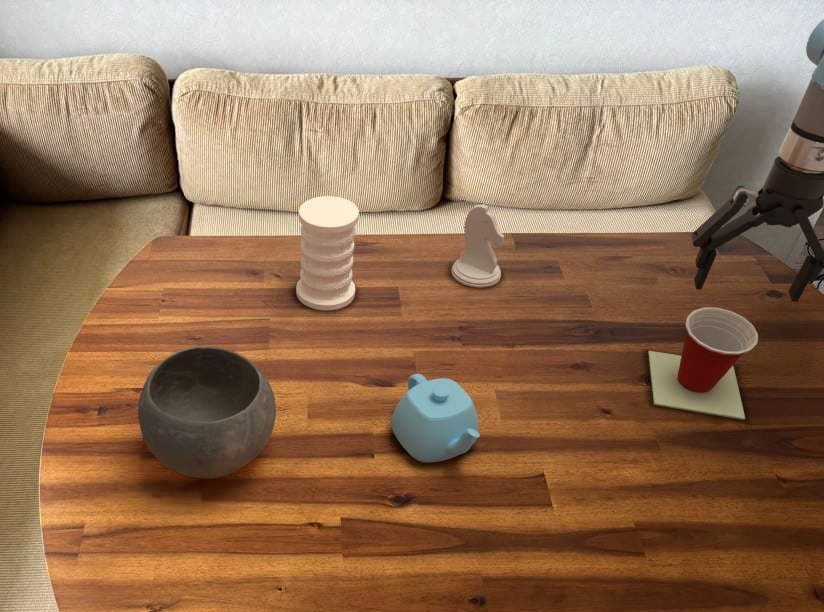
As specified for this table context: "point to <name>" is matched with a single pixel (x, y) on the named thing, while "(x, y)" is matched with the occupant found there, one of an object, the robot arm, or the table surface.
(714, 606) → the table surface
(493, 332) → the table surface
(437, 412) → the teapot
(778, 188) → the robot arm
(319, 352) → the table surface
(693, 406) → the mat
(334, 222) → the decorative container
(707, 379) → the plastic cup
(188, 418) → the bowl
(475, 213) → the chess piece
